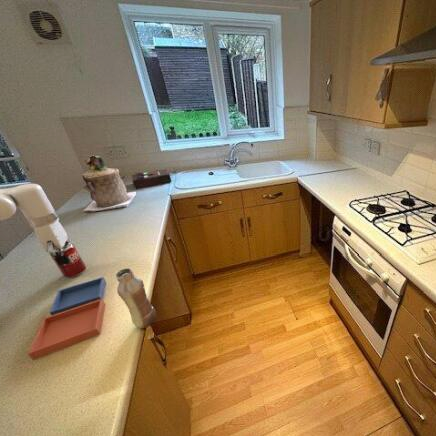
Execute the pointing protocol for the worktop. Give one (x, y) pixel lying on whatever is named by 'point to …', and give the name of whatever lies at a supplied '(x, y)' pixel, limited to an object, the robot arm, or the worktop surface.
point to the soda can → (71, 262)
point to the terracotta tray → (68, 328)
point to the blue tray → (78, 295)
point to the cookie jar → (105, 186)
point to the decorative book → (151, 179)
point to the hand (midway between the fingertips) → (67, 258)
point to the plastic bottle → (135, 298)
